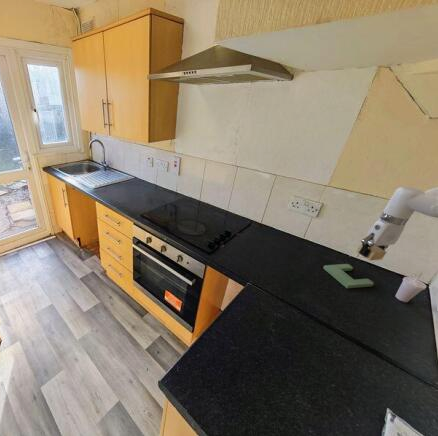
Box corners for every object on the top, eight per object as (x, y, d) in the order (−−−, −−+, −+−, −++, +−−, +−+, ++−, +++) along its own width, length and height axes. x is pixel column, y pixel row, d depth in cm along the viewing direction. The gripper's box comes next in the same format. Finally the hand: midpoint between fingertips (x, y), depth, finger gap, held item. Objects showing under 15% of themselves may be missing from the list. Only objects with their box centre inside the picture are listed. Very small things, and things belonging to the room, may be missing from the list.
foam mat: (346, 266, 112) (348, 263, 111) (372, 286, 100) (374, 283, 99) (322, 268, 110) (324, 265, 109) (346, 288, 99) (348, 285, 98)
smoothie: (408, 297, 96) (430, 272, 89) (414, 307, 91) (437, 282, 84) (388, 290, 99) (408, 266, 92) (392, 300, 94) (413, 275, 87)
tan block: (367, 250, 100) (372, 243, 98) (381, 259, 95) (387, 252, 93) (356, 251, 100) (360, 244, 98) (369, 260, 94) (374, 252, 92)
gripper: (384, 224, 84) (360, 261, 93) (422, 222, 86) (395, 259, 95) (365, 214, 90) (344, 250, 99) (401, 213, 93) (377, 248, 102)
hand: (369, 254), depth 97 cm, fingers closed on tan block, 6 cm apart
